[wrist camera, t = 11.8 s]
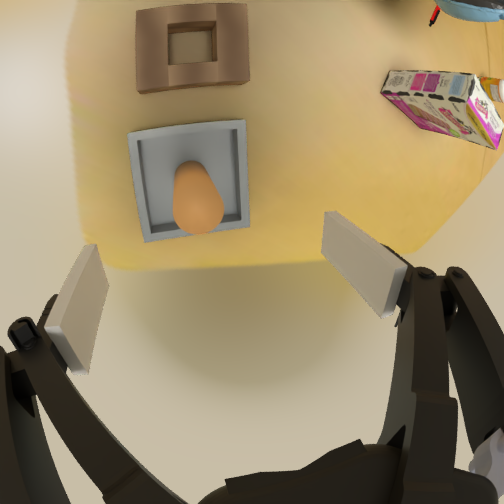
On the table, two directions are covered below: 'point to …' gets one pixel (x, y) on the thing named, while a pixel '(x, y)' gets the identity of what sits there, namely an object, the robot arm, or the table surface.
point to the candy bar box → (446, 104)
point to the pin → (196, 199)
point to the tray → (181, 150)
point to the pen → (434, 16)
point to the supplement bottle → (493, 88)
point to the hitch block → (187, 20)
